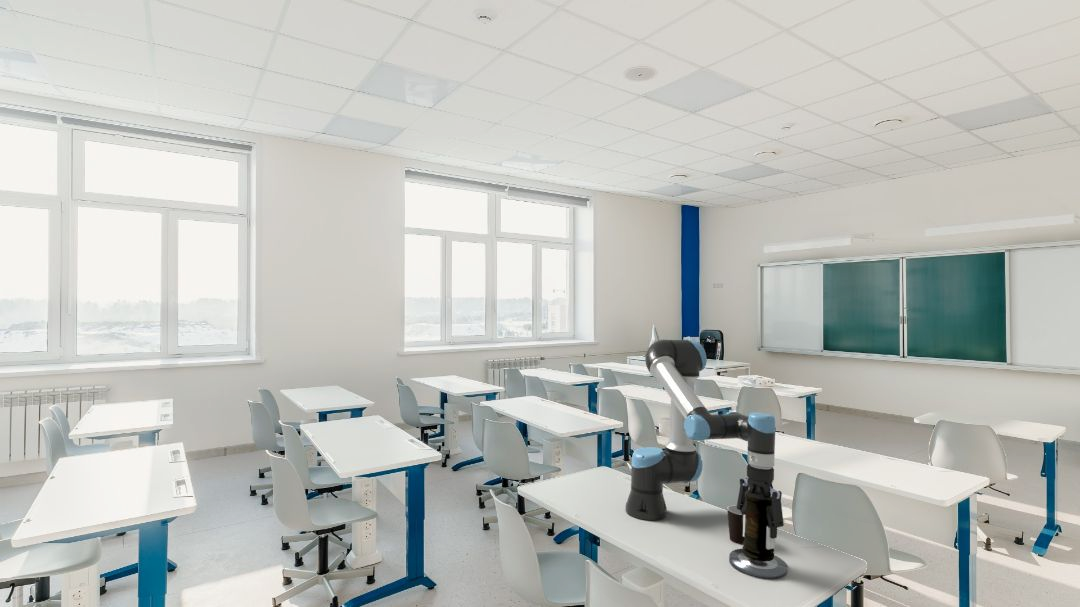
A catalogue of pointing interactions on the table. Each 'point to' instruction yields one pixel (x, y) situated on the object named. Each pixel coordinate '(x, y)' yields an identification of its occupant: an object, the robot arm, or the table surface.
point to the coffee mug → (735, 524)
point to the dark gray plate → (758, 566)
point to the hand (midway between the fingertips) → (758, 541)
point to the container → (756, 528)
